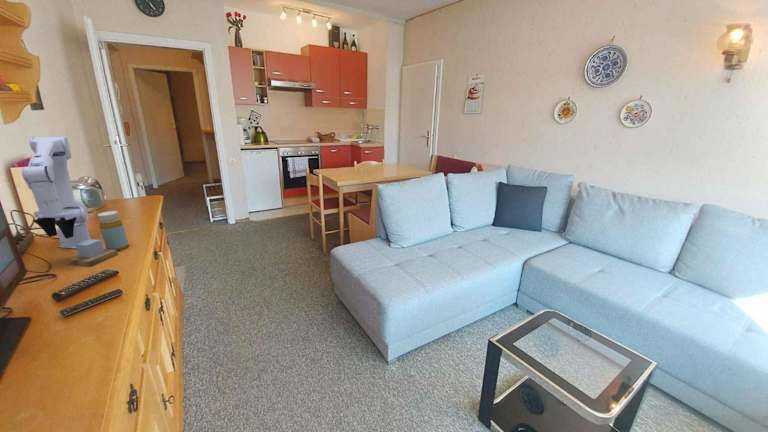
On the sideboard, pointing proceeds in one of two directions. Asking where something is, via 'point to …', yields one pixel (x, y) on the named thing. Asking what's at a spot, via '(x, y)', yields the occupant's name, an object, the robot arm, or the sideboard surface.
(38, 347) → the sideboard surface
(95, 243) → the cube
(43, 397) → the sideboard surface
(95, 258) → the base slab
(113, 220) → the bottle
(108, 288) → the sideboard surface
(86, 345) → the sideboard surface
